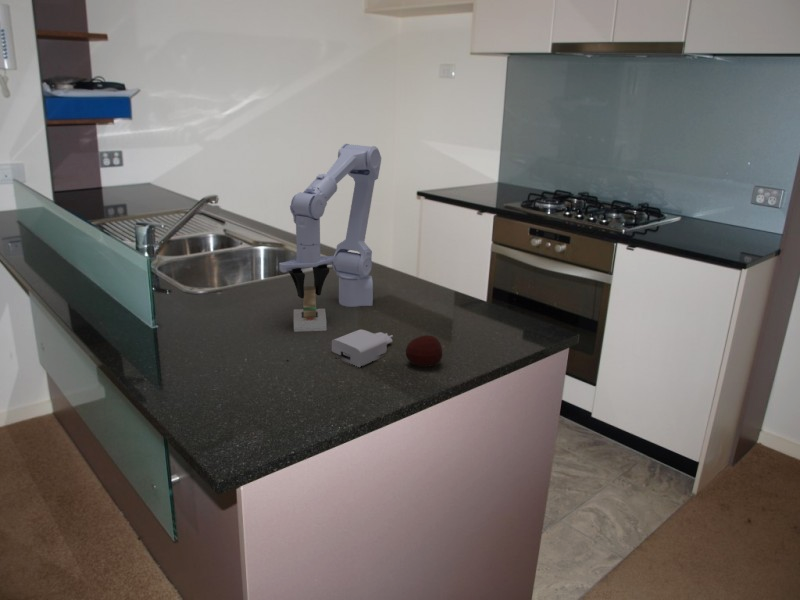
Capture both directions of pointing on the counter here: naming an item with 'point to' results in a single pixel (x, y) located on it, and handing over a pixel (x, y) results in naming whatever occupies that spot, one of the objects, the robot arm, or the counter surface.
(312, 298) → the post
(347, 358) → the charger
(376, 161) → the robot arm
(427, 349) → the potato
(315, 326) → the stand
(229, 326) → the counter surface
